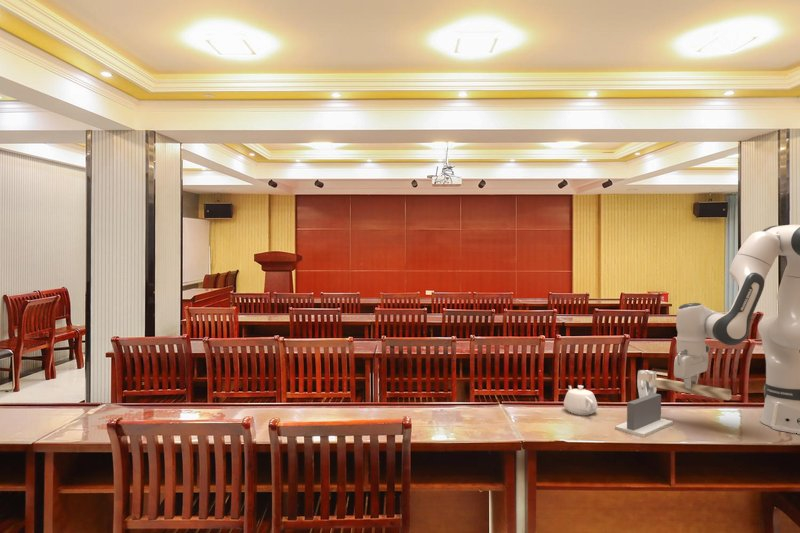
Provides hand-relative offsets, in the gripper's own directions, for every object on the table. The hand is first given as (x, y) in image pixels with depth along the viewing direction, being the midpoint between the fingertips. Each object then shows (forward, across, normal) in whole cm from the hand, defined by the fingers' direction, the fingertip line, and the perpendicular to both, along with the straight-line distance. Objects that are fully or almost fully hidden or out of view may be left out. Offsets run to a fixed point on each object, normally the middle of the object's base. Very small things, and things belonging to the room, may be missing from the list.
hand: (691, 387), depth 176 cm
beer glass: (+14, +5, +18) cm, 24 cm away
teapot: (+13, -18, +34) cm, 40 cm away
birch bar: (+2, 0, 0) cm, 2 cm away
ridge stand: (+13, -16, +9) cm, 22 cm away
